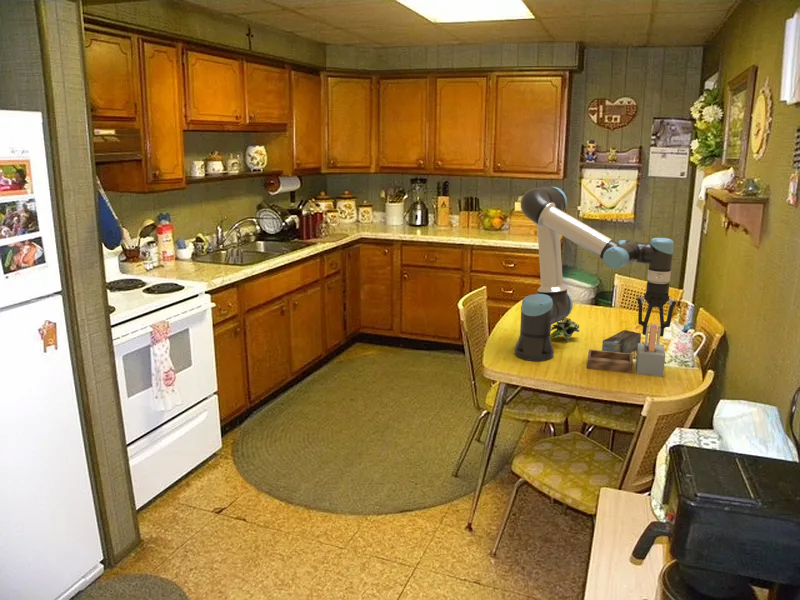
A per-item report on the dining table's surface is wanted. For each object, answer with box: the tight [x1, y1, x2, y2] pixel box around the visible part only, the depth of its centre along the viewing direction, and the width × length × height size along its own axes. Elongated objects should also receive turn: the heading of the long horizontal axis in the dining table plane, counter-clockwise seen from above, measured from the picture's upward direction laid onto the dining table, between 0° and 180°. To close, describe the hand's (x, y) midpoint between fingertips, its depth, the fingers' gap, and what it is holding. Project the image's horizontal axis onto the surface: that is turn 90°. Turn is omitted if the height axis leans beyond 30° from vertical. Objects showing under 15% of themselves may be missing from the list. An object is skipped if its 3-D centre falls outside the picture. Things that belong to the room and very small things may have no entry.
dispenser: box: [635, 342, 666, 378], centre depth 238 cm, size 9×12×9 cm
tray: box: [586, 349, 634, 374], centre depth 243 cm, size 16×12×4 cm
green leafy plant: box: [550, 317, 580, 343], centre depth 272 cm, size 11×11×12 cm
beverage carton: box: [601, 329, 642, 354], centre depth 260 cm, size 8×19×7 cm, turn 136°
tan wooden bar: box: [647, 322, 658, 352], centre depth 237 cm, size 2×6×15 cm, turn 162°
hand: (651, 343), depth 237 cm, fingers open, 3 cm apart
